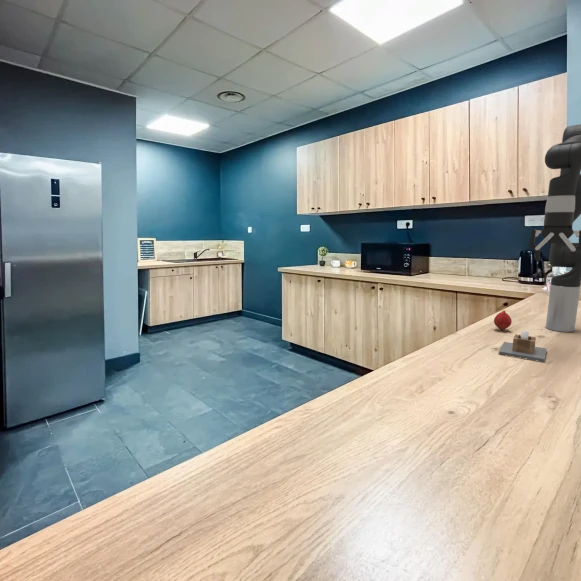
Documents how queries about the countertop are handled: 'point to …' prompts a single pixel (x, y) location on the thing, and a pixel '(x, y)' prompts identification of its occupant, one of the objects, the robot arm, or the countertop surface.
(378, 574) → the countertop surface
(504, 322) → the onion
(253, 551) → the countertop surface
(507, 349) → the post stand
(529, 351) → the ring
